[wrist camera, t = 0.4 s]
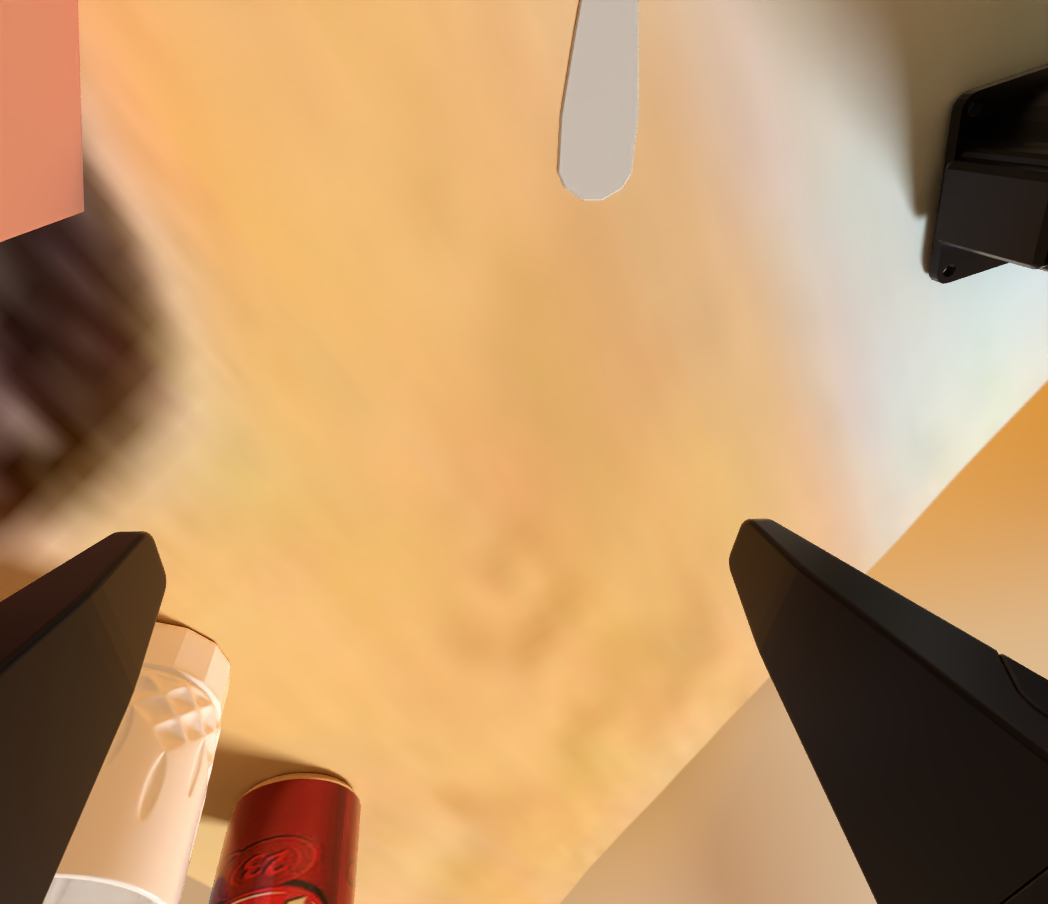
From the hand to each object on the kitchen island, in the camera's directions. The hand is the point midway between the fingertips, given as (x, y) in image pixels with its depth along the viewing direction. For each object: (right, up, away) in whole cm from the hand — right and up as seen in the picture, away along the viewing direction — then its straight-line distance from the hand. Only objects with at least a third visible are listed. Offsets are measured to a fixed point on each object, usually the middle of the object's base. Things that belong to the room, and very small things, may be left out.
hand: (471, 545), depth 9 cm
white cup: (-17, -9, +18) cm, 26 cm away
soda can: (-13, -20, +26) cm, 35 cm away
